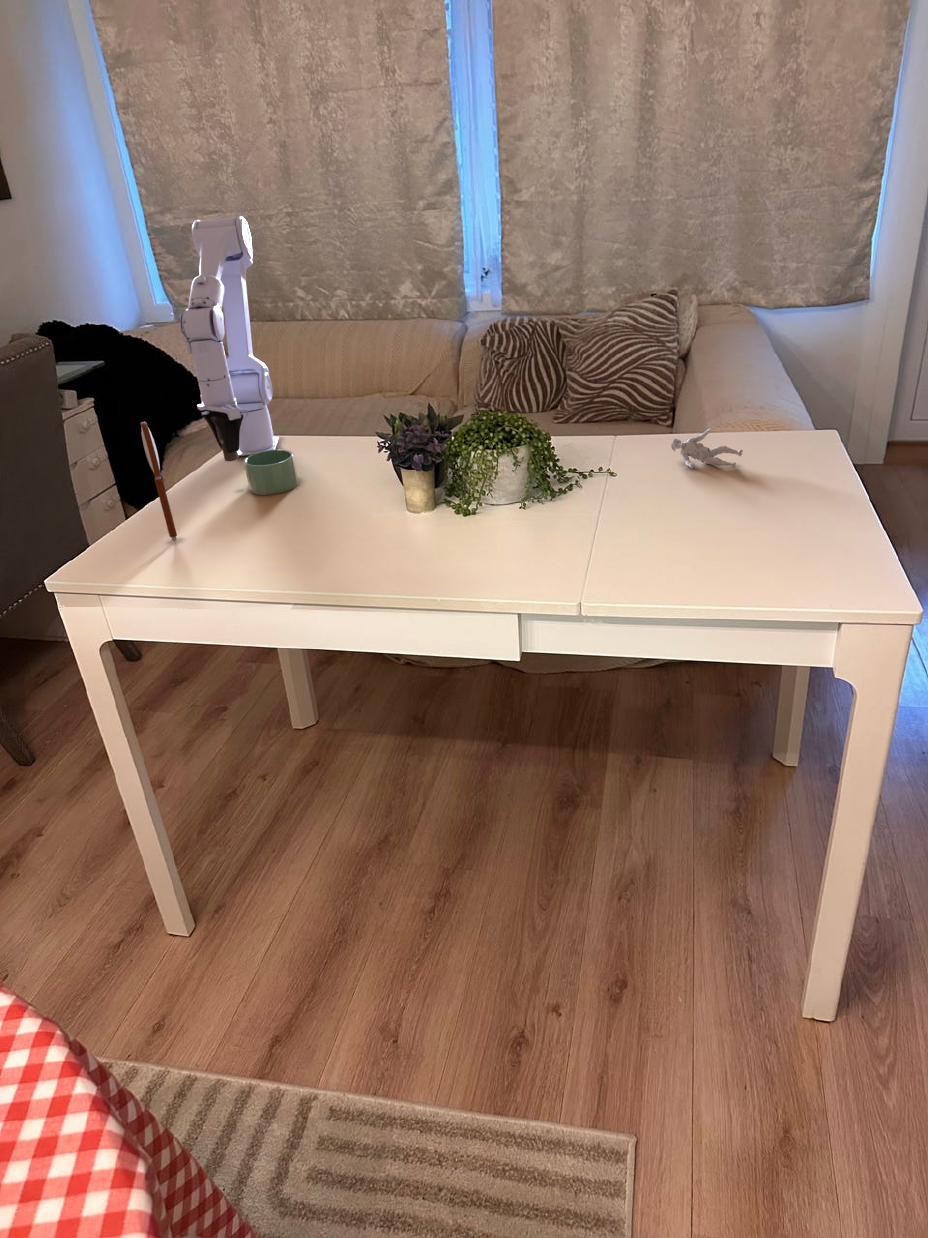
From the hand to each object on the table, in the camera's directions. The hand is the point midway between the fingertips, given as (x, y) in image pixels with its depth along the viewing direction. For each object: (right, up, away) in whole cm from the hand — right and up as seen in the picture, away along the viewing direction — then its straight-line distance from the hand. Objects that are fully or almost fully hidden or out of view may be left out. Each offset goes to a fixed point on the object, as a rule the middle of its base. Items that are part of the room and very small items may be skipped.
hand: (229, 449), depth 172 cm
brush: (0, -2, +1) cm, 2 cm away
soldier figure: (+86, -5, -12) cm, 87 cm away
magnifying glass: (-3, -19, -22) cm, 29 cm away
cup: (+9, -7, -3) cm, 12 cm away
